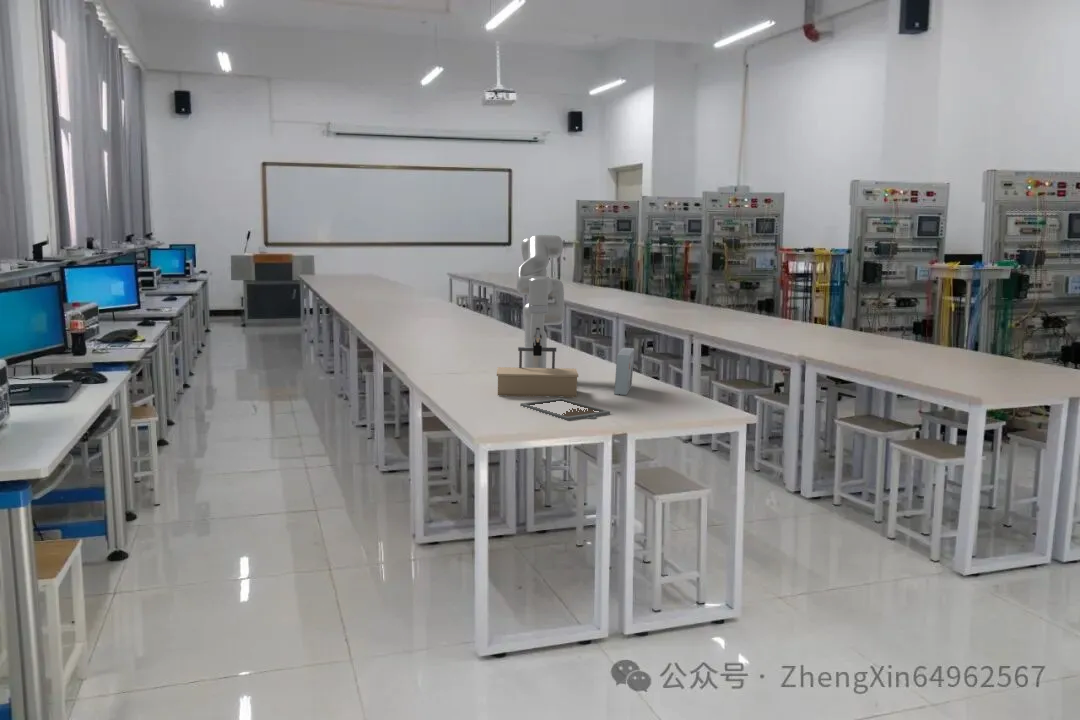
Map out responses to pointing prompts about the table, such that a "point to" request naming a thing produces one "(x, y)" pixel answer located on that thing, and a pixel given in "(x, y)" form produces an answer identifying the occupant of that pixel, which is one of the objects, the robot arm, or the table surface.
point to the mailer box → (537, 386)
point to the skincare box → (624, 371)
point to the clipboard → (569, 415)
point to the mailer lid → (537, 371)
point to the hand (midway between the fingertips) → (537, 353)
